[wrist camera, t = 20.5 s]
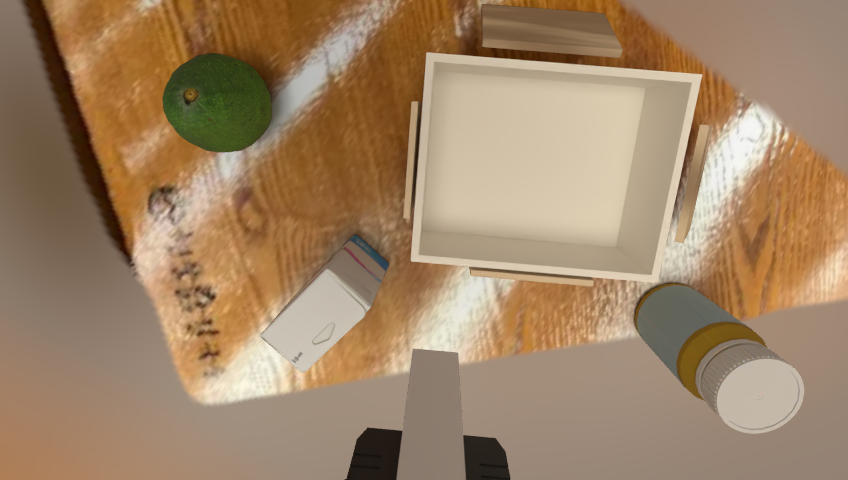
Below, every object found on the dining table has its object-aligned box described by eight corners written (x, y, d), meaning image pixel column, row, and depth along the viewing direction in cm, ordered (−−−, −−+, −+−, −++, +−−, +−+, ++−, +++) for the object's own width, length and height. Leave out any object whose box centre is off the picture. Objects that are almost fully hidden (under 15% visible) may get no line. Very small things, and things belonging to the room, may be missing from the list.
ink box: (354, 230, 49) (326, 266, 37) (390, 263, 49) (375, 309, 38) (298, 287, 50) (256, 338, 39) (335, 319, 51) (303, 378, 40)
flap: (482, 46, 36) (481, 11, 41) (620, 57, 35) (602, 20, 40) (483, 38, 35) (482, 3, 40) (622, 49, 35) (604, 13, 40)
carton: (420, 63, 44) (414, 51, 36) (651, 81, 44) (702, 74, 35) (407, 242, 49) (399, 270, 40) (617, 260, 48) (655, 292, 40)
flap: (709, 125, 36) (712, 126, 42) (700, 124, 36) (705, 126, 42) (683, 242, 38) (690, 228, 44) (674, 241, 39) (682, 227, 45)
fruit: (297, 136, 47) (249, 144, 35) (220, 157, 47) (148, 172, 36) (270, 50, 45) (210, 29, 33) (190, 73, 45) (104, 61, 34)
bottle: (710, 284, 49) (823, 357, 34) (694, 348, 51) (795, 443, 36) (640, 277, 49) (723, 347, 34) (626, 341, 51) (699, 433, 36)
